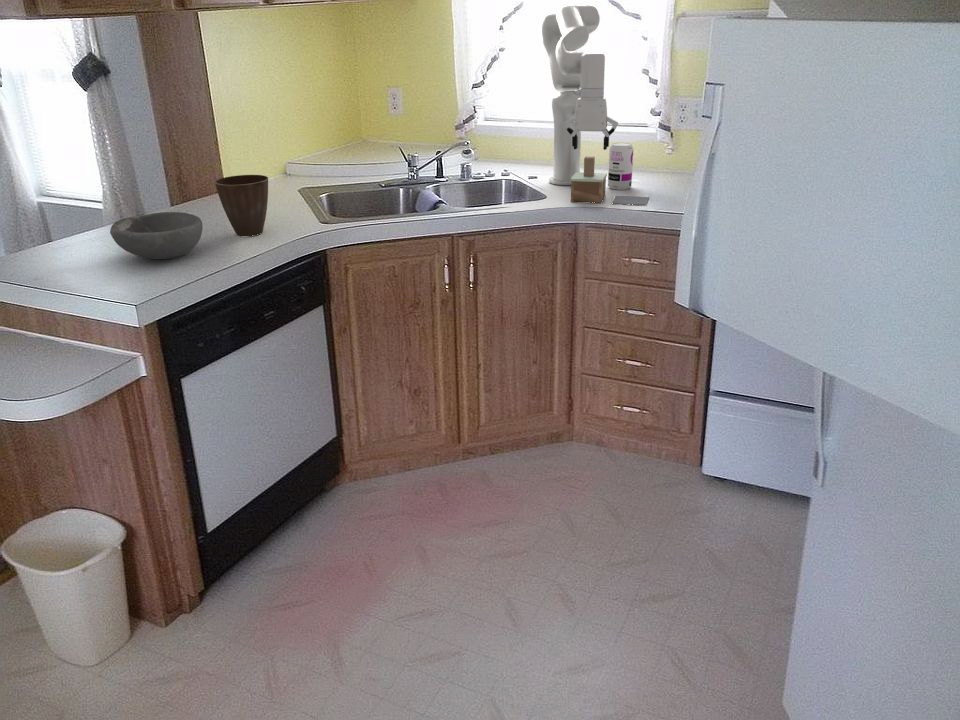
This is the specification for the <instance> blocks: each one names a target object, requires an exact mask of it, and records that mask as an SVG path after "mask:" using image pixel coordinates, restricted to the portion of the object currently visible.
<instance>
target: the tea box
mask: <svg viewBox="0 0 960 720" xmlns="http://www.w3.org/2000/svg"><path fill="white" fill-rule="evenodd" d="M606 183H607V177H606V178H605V179H604V181H603V182H583V181H571V185H570V203H578V202H590V203H589V204H602V203H603V201H604V199H605V198H604V197H606V186H607V185H606ZM602 200H603V201H602ZM592 202H593V203H592ZM594 202H595V203H594ZM601 202H602V203H601Z"/></svg>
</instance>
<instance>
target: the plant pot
mask: <svg viewBox="0 0 960 720" xmlns="http://www.w3.org/2000/svg"><path fill="white" fill-rule="evenodd" d="M214 184H215V189H216V190H217V191H216V192H217V194H218V197H219V200H220V203H221V205H222V208H223V210H224V213H225V215H226V217H227V219H228V221H229V224H230V225H231V227H232V229H233V231H234V232H235V234H236V236H237V237H241V236H250V237H253V236H252V235H256V236H258V235H257V234H259V235H261V234H262V233H263V232H264V228H265V223H266V217H267V209H268V201H269V200H268V199H269V177H268V176H266V175H263V174H241V175H230V176H225V177H222V178H218V179H215V181H214ZM260 233H261V234H260Z"/></svg>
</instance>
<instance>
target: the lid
mask: <svg viewBox="0 0 960 720" xmlns="http://www.w3.org/2000/svg"><path fill="white" fill-rule="evenodd" d="M595 160H596V158H595V156H584V158H583V172H581V171H580V172H576V173H575V174H574V175H573V176H572V178H571V181H583V182H603V181H604V179H605V178H606V179H607V177H608V175H607V174H608V173H604V172H595Z"/></svg>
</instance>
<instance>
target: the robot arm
mask: <svg viewBox="0 0 960 720" xmlns="http://www.w3.org/2000/svg"><path fill="white" fill-rule="evenodd" d="M600 15H601V14H600V10H599V8H598V6H596V4H595V3H588V2H587V3H567V4H564V5H561V6H560V7H559V8H558V10H557V11H551V12H547V13H545V14H544V15H543V16H542V17H541V20H540V25H539V26H540V27H539V28H540V36H541V40H542V43H543V46H544V49H545V51H546V53H547V56H548V59H549V66H550V72H551V74H550V75H551V80H552V84H553V88H554V89H555V90H556V91H558V92H557V93H556V94H555V95H554V96H553V97H552V100H551V107H552V108H551V109H552V117H553V176H552V177H550V178H549V180H548V182H549V183H550V184H552V185H559V186H571V178H572V176H573V175H574V174H575V173H576V172H580V173H581V145H582V144H581V142H582V141H581V140H582V132H602V133H603V135H604V137H603V146H602V148H603V149H602V150H604V151H605V150H606V151H607V149H608V148H610V136H611V135H612V134H613V133H614V132H615V131H616V129H617V127H618V125H619V122H618V121H616V120H615V119H613V118H611V117H609V116H608V106H607V98H606V97H604V94H605V65H606V63H605V62H606V56H605V54H604V53H603V52H600V51H598V50H579V49H581V48H583V47H584V46H585V45H586V44H587V43H588V41H589V37H590V35H591V34H592V33H594V32H595V31H596V29H597V28H599V24H600V19H601V17H600ZM597 30H598V29H597ZM608 123H609V124H611V125H612V127H611V128H610V129H609V130H608V128H607V127H608Z"/></svg>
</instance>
